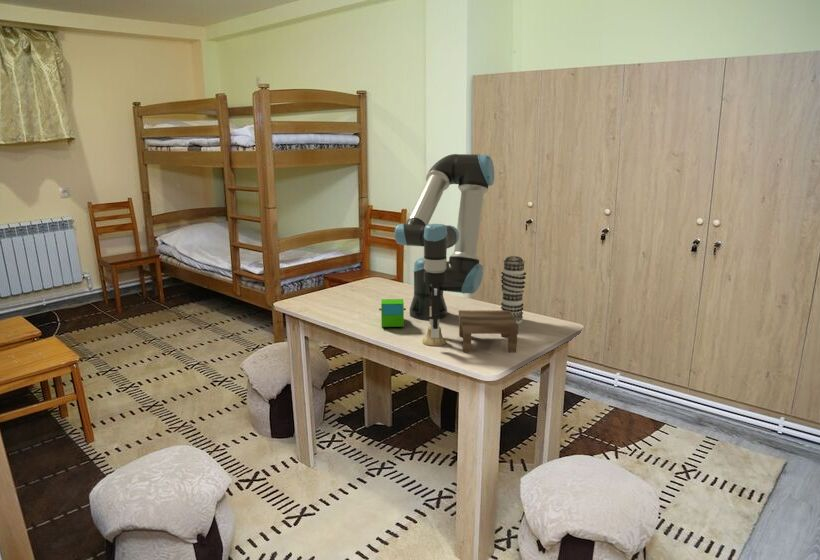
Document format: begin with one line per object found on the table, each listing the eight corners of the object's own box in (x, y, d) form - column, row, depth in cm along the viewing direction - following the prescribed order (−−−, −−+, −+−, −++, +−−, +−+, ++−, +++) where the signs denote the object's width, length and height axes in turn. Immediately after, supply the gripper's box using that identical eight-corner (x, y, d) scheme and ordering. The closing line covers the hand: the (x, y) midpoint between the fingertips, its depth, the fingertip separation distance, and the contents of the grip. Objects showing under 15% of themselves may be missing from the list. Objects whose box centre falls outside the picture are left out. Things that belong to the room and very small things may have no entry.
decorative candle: (522, 325, 214) (525, 260, 208) (497, 323, 216) (500, 259, 210) (524, 318, 222) (528, 255, 216) (501, 316, 225) (503, 254, 219)
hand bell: (449, 339, 198) (449, 296, 194) (441, 347, 191) (442, 302, 187) (426, 336, 201) (427, 293, 197) (418, 344, 194) (418, 299, 190)
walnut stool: (458, 334, 204) (458, 310, 202) (508, 334, 204) (509, 310, 202) (462, 352, 186) (463, 326, 184) (517, 352, 186) (518, 326, 184)
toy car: (405, 318, 222) (405, 293, 220) (406, 329, 209) (406, 303, 207) (379, 318, 222) (379, 294, 219) (378, 329, 209) (378, 303, 206)
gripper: (423, 262, 202) (422, 319, 207) (424, 279, 178) (424, 343, 183) (444, 262, 202) (442, 319, 207) (448, 279, 178) (447, 343, 183)
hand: (434, 330), depth 195 cm, fingers open, 13 cm apart
